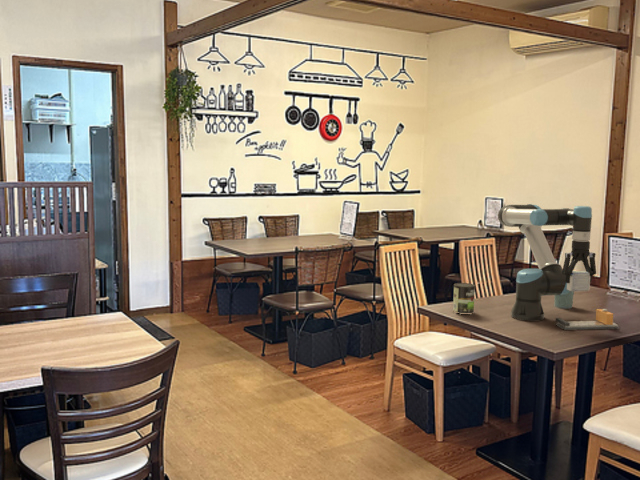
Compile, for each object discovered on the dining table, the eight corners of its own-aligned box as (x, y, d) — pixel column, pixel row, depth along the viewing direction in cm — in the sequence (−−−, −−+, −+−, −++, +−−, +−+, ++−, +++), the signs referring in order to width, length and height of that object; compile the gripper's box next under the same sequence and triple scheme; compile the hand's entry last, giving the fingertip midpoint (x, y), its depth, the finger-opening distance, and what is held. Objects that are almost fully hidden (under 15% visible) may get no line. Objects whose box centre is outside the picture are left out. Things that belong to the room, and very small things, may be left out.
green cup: (570, 304, 326) (571, 282, 324) (576, 309, 316) (577, 286, 314) (550, 304, 327) (551, 282, 325) (555, 308, 317) (557, 286, 315)
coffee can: (478, 312, 308) (479, 285, 306) (465, 316, 301) (466, 287, 300) (461, 308, 316) (462, 281, 314) (448, 311, 309) (449, 284, 307)
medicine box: (583, 289, 284) (585, 270, 283) (588, 291, 279) (589, 272, 278) (567, 289, 283) (568, 270, 282) (571, 291, 279) (573, 272, 278)
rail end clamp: (606, 324, 279) (607, 311, 278) (595, 319, 288) (596, 307, 287) (612, 324, 279) (613, 311, 278) (601, 319, 288) (602, 306, 287)
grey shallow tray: (565, 330, 277) (565, 323, 277) (555, 324, 286) (555, 318, 286) (619, 329, 280) (620, 321, 279) (608, 323, 289) (609, 316, 288)
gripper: (563, 241, 273) (560, 292, 276) (607, 241, 276) (604, 291, 279) (555, 239, 280) (552, 288, 283) (597, 239, 283) (594, 287, 286)
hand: (578, 289), depth 281 cm, fingers closed on medicine box, 8 cm apart
